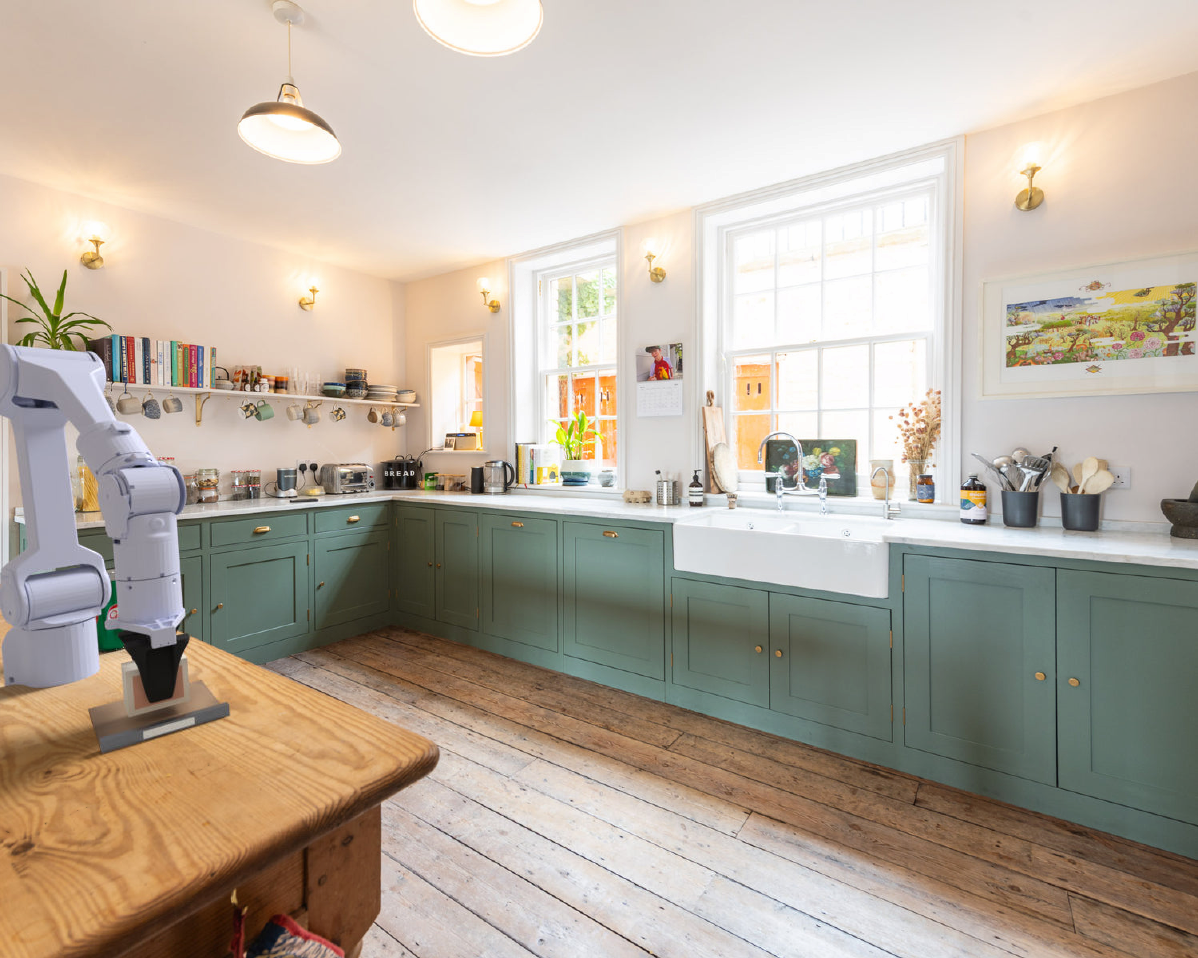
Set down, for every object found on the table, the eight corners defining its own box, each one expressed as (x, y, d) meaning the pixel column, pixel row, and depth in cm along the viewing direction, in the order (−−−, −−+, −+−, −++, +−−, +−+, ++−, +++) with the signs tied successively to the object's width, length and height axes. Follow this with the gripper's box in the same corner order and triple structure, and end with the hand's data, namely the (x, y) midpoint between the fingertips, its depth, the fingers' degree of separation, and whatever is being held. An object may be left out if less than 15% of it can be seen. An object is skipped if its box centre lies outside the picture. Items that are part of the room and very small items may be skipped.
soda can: (112, 653, 90) (106, 576, 89) (85, 651, 91) (79, 575, 90) (144, 642, 95) (138, 568, 94) (118, 640, 96) (112, 567, 95)
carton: (129, 717, 63) (125, 672, 63) (124, 707, 66) (121, 663, 66) (190, 700, 67) (187, 658, 67) (183, 691, 70) (180, 650, 69)
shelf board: (103, 767, 58) (101, 753, 58) (89, 721, 68) (88, 708, 68) (230, 727, 66) (229, 714, 66) (201, 691, 76) (201, 679, 76)
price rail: (101, 753, 58) (101, 741, 58) (100, 749, 59) (99, 737, 59) (230, 715, 66) (229, 704, 66) (227, 712, 67) (226, 701, 67)
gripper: (94, 571, 68) (104, 686, 69) (110, 593, 58) (120, 728, 59) (169, 561, 73) (177, 668, 74) (195, 580, 63) (204, 704, 64)
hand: (157, 694), depth 67 cm, fingers closed on carton, 4 cm apart
